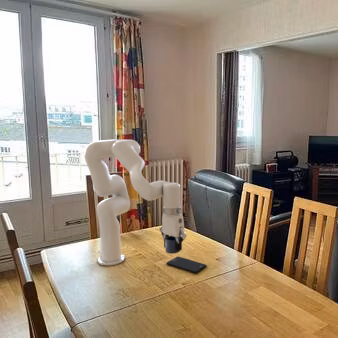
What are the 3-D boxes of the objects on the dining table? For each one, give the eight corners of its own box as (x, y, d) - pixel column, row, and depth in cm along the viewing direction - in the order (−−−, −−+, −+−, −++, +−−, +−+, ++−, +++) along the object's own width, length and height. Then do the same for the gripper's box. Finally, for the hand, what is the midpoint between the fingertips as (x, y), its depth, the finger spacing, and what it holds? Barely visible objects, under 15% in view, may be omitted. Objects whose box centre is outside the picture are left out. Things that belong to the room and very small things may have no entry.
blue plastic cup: (162, 251, 147) (162, 238, 146) (172, 246, 153) (172, 234, 152) (173, 254, 144) (172, 241, 143) (183, 250, 149) (183, 237, 148)
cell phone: (177, 257, 167) (177, 256, 167) (206, 266, 158) (206, 264, 158) (166, 264, 160) (166, 262, 160) (195, 273, 151) (195, 271, 150)
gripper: (192, 211, 143) (192, 250, 146) (164, 205, 153) (165, 241, 156) (180, 215, 137) (181, 256, 140) (152, 209, 147) (153, 246, 150)
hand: (172, 248), depth 148 cm, fingers closed on blue plastic cup, 6 cm apart
